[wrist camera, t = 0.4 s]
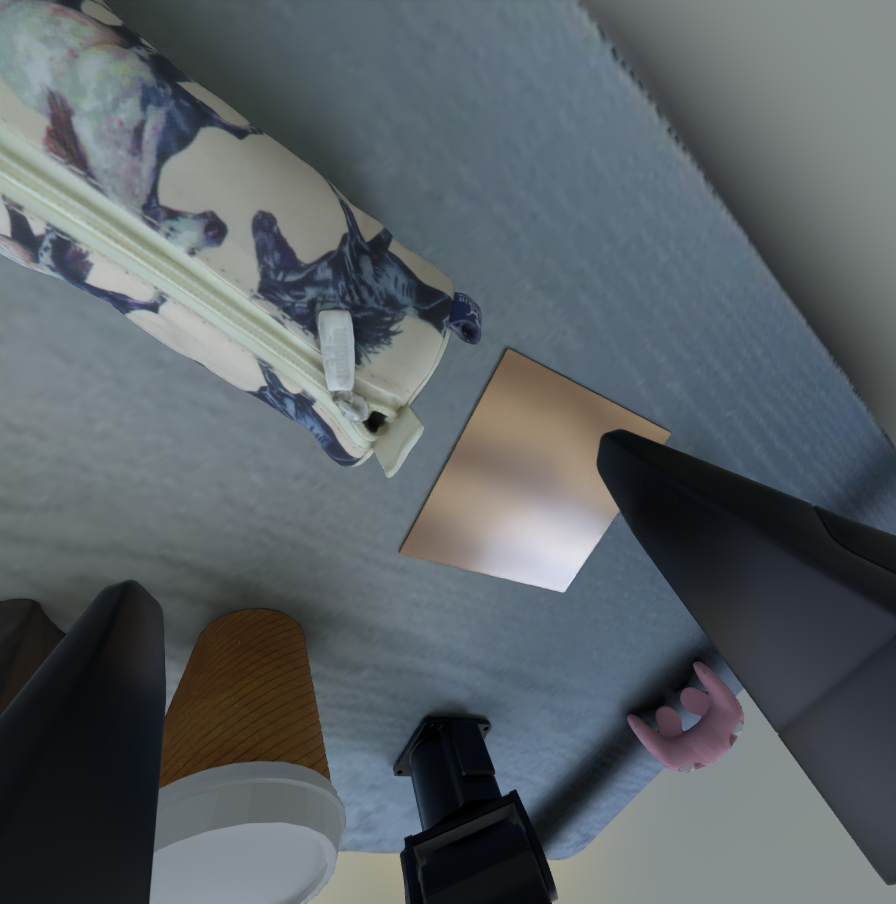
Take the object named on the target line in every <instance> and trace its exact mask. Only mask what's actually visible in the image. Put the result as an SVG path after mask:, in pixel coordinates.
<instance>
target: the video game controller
mask: <svg viewBox="0 0 896 904" xmlns="http://www.w3.org/2000/svg"><path fill="white" fill-rule="evenodd" d="M693 666H694V669H695V672H696V674H697V676H698V677H699V679H700V680H701V682H702V684H703V685H704V687H705V688H706V689H707V692H704V691H700V690H698V689H697V688H694V687H686V688H684V689H683V690H682V692H681V694H680V699H681V703H682V705H683V706H684V707H685V708H686V709H687V710H688V711H690V712H691V713H694V714H697V715H701V716H702V718H701V719H700V720H699V721H698V723H697V724H695V725H694V726H693V727H692V728H690V729H689V730H687V731H683V730H682V723H681V719H680V717H679V715H678V713H677V712H676V711H675V710H674V709H672V708H671V707H669V706H662V707H660V708H658V710H657V711H656V721H657V725H658V731H655V730H653V729H651V728H650V727H649V726H648V725H646V724H645V723H644V722H643V721H642V720H641V719H639V718H638V717H637V716H635V715H633V714H629V715H628V722H629V724H630V726H631V728H632V730H633V731H634V733H635V734H636V735H637V737H638V738H639V739H640V741H641V742H642V743H643V745H644V746H645V747H646V748H647V749H648V750H649V751H650V752H651V753H652V754H653V755H654V756H655V757H656V758H657V759H658V760H659V761H660V762H661V763H662V764H663V765H664V766H665V767H667V768H669V769H671V770H674V771H678V772H685V773H688V772H691V771H694V770H695V769H699V768H701V767H704V766H708V765H709V764H711V763H713V762H714V761H716V760H717V759H718V758H720V757H721V756H722V755H723V754H725V753H726V752H727V751H728V750H729V749H730V748H731V747H732V745H733V743H734V742H735V740H736V739H737V737H738V736H739V735H740V734H741V732H742V730H743V723H744V715H743V711H742V707H741V705H740V703H739V702H738V700H737V699H736V697H735V696H734V694H733V693H732V691H731V690H730V689H729V688H728V687H727V685H726V684H725V683H724V682H723V681H722V680H721V679H720V678H719V677H718V676H717V675H716V674H715V673H714V672H713V671H712V670H711V669H710V668H708V667H707V666H706V665H705V664H703V663H701V662H699V661H696V662H694V664H693Z"/></svg>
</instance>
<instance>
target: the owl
mask: <svg viewBox="0 0 896 904" xmlns="http://www.w3.org/2000/svg"><path fill="white" fill-rule="evenodd" d="M65 635H66V634H64V633H63V632H62V631H60V630H59V629H58V628H57V627H56V626H55V625H54V624H53V623H52V622H51V621H50V620H49V618H48V617H47V616H46V615H45V614H44V612H43V611H42V610H41V607H40V605H39V603H37V602H35V601H33V600H27V599H14V600H7V601H3V602H0V716H1V714H2V713H3V712H4V711H5V709H6V708H7V707H8V706H9V704H10V703H11V702H12V701H13V699H14V698H15V697H16V696H17V695H18V693H19V692H20V691H21V690H22V688H23V687H24V686H25V685H26V683H27V682H28V681H29V680H30V679H31V677H32V676H33V675H34V674H35V672H36V671H37V670H38V669H39V667H40V666H41V665H42V664H43V663H44V661H45V660H46V659H47V658H48V656H49V655H50V654H51V653H52V651H53V650H54V649H55V648H56V646H57V645H58V644H59V643H60V642H61V640H62V639H63V638H64V637H65Z"/></svg>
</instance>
